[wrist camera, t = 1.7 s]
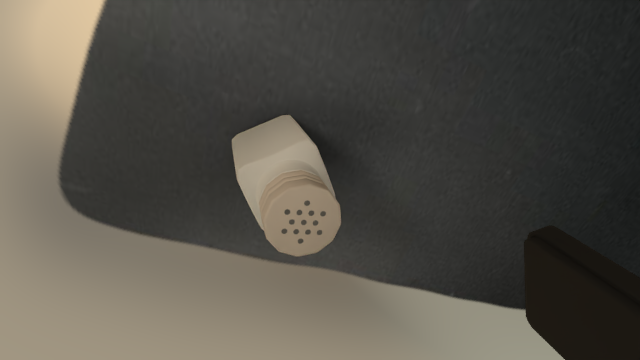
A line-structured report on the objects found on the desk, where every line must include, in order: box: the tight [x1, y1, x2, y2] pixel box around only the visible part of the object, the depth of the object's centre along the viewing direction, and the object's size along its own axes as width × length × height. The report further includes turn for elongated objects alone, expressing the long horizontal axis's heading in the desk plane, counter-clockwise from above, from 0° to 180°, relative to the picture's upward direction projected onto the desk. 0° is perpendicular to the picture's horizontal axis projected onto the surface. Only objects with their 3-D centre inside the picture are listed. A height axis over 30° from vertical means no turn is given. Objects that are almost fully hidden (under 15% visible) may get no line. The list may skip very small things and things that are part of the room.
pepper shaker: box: [232, 115, 341, 257], centre depth 20 cm, size 4×4×10 cm
